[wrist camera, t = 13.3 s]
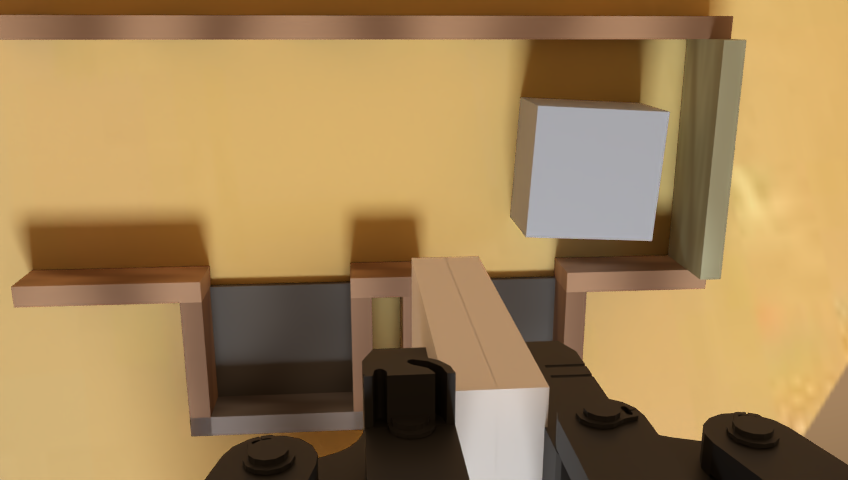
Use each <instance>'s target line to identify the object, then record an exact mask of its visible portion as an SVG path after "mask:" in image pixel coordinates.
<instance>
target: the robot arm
mask: <svg viewBox="0 0 848 480" xmlns="http://www.w3.org/2000/svg"><path fill="white" fill-rule="evenodd" d="M362 387H363V434H362V436H361V437H360V438H359V440H358V441H357V442H355V443H354V444H353V445H352V446H350V447H348V448H346V449H344V450H342V451H340V452H338V453H335V454H331V455H328V456H324V457H320V458H318V454H317V452H316V451H315V449H314V448H313V446H312V445H311V444H309V443H307V442H305V441H303V440H301V439H298V438H293V437H288V436H273V435H267V436H261V437H260V438H259V437H256V438H252V439H249V440H247V441H245V442H243V443H240V444H238V445H236V446H234V447H232V448H231V449H230V450H229V451H228V452H226V453H225V454H224V455H223V456H222V457H221V458H220V460H219V461H218V462H217V464H216V465H215V467H214V468H213V469H212V471H211V472H210V473H209V475H208V476H207V477H206V479H205V480H848V465H847V464H845V463H844V462H843V461H841V460H839V459H838V458H836V457H835V456H833V455H831V454H830V453H828V452H827V451H825V450H823V449H822V448H820V447H819V446H817V445H816V444H814V443H813V442H811V441H809V440H808V439H806V438H805V437H803V436H802V435H800V434H798V433H797V432H795V431H794V430H792V429H790V428H789V427H787V426H785V425H783V424H781V423H779V422H776V421H774V420H771V419H768V418H764V417H761V416H760V415H758V414H753V413H748V414H746V412H735V413H728V414H720V415H717V416H714V417H711V418H709V419H708V420H707V421H706V422H705V424H704V425H703V433H702V441H696V440H688V439H680V438H672V437H667V436H661V435H658V433H657V432H656V431H655V429H654V428H653V427H652V425H651V424H650V423H649V421H648V420H647V418H646V417H645V416H644V415H643V414H642V413H641V412H640V411H638V410H637V409H636V408H634V407H632V406H630V405H628V404H625V403H623V402H620V401H616V400H611V399H608V397H607V396H606V394H605V393H604V391H603V390H602V388H601V387H600V386H599V384H598V383H597V381H596V380H595V378H594V377H592V374H591V372H590V371H589V369H588V368H587V367H586V366H585V364H584V362H583V361H582V359H581V358H580V356H579V355H578V353H577V352H576V351H575V350H573V349H571V348H570V347H568V346H566V345H565V344H563V343H561V342H559V341H534V342H525V341H524V339H523V338H522V336H521V334H520V332H519V330H518V328H517V327H516V325H515V323H514V321H513V319H512V317H511V315H510V314H509V312H508V310H507V308H506V306H505V304H504V303H503V301H502V299H501V297H500V295H499V293H498V292H497V290H496V288H495V286H494V284H493V282H492V280H491V279H490V277H489V275H488V273H487V271H486V269H485V268H484V266H483V264H482V262H481V260H480V258H479V257H478V256H471V257H431V258H412V348H390V349H372V350H371V352H370V353H369V354H368V355H367V356H366V357H365V358H364V359H363V360H362Z"/></svg>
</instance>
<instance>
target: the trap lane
mask: <svg viewBox="0 0 848 480" xmlns="http://www.w3.org/2000/svg"><path fill="white" fill-rule="evenodd" d="M732 22H733V16H303V15H0V40H97V39H687V46H686V58H685V69H684V80H683V91H682V103H681V114H680V125H679V137H678V148H677V159H676V171H675V182H674V193H673V205H672V216H671V227H670V238H669V250H668V255H661V256H618V257H576V258H555V269H554V276H551V277H511V278H490V279H491V280H492V282H493V284H494V286H495V288H496V290H497V292H498V293H499V295H500V297H501V299H502V301H503V303H504V304H505V306H506V308H507V310H508V312H509V314H510V315H511V317H512V319H513V321H514V323H515V325H516V327H517V328H518V330H519V332H520V334H521V336H522V338H523V339H524V341H525V342H534V341H559V342H561V343H563V344H565V345H566V346H568V347H570V348H571V349H573V350H575V351H576V352H577V353H578V355H579V356H580V358H581V359H583V342H584V326H585V309H586V292H600V291H637V290H674V289H705V284H706V279H721V270H722V261H723V252H724V242H725V233H726V224H727V215H728V205H729V196H730V187H731V178H732V168H733V159H734V150H735V141H736V131H737V122H738V113H739V104H740V94H741V85H742V76H743V67H744V57H745V48H746V40H737V39H731V31H732ZM11 290H12V297H13V303H14V307H47V306H84V305H121V304H158V303H180V310H181V322H182V333H183V345H184V356H185V368H186V379H187V391H188V402H189V414H190V425H191V436H213V435H238V434H263V433H287V432H312V431H337V430H361V429H363V387H362V360H363V359H364V358H365V357H366V356H367V355H368V354H369V353H370V352H371V350H372V349H373V338H372V298H379V297H400V323H401V348H412V261H405V262H363V263H351V270H350V282H314V283H275V284H236V285H211V280H210V267H209V266H192V267H149V268H107V269H64V270H32V271H31V272H30V273H28V274H27V275H26V276H24V277H23V278H22V279H21V280H19V281H18V282H17V283H15V284H14V285H13V286H12V287H11Z"/></svg>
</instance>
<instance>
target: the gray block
mask: <svg viewBox="0 0 848 480" xmlns="http://www.w3.org/2000/svg"><path fill="white" fill-rule="evenodd" d="M669 113H670V112H668V111H665V110H662V109H658V108H655V107H652V106H648V105H645V104H642V103H631V102H610V101H589V100H568V99H548V98H527V97H520V109H519V120H518V132H517V143H516V155H515V167H514V178H513V190H512V202H511V213H510V217H511V219H512V220H513V221H514V222H515V224H516V225H517V226H518V228H519V229H520V230H521V231H522V233H523V234H524V235H525V237H538V238H570V239H603V240H636V241H652V237H653V230H654V223H655V215H656V208H657V201H658V193H659V186H660V179H661V172H662V164H663V157H664V150H665V142H666V135H667V128H668V121H669Z"/></svg>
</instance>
